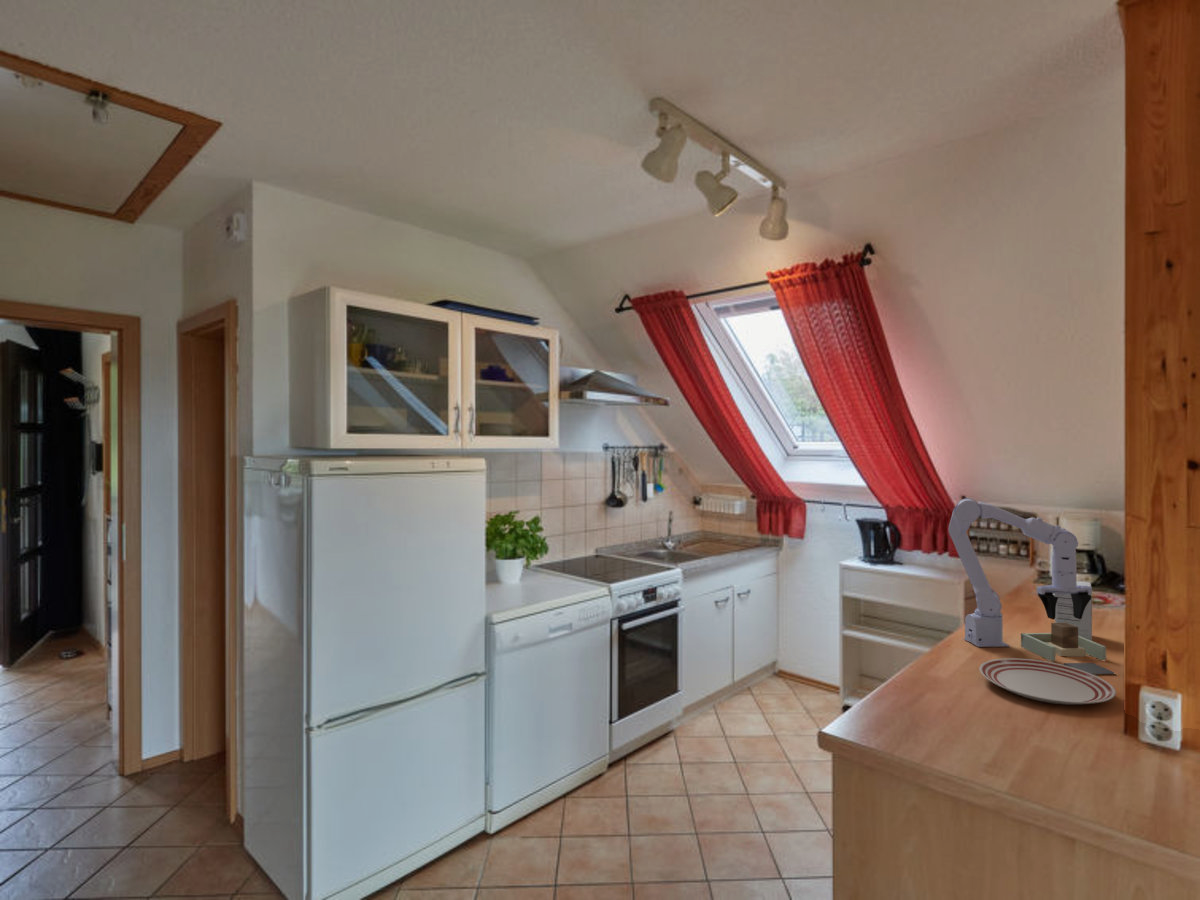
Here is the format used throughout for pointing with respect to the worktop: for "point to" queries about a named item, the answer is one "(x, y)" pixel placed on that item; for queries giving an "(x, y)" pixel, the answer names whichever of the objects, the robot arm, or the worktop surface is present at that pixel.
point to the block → (1064, 635)
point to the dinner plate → (1047, 681)
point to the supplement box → (1066, 614)
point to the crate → (1046, 649)
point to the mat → (1090, 668)
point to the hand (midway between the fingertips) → (1064, 618)
